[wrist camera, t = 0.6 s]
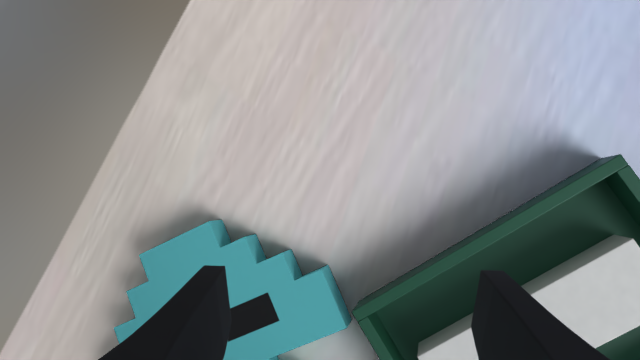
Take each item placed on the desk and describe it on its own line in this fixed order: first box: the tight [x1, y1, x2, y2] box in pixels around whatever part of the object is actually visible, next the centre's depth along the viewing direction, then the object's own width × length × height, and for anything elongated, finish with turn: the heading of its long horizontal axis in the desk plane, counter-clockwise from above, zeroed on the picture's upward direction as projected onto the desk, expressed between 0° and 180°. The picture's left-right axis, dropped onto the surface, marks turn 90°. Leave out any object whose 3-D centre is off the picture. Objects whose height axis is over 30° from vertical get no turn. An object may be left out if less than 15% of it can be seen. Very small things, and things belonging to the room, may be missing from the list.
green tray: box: [352, 154, 640, 360], centre depth 30 cm, size 14×20×3 cm
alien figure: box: [114, 220, 352, 360], centre depth 36 cm, size 20×2×20 cm
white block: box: [417, 235, 640, 360], centre depth 30 cm, size 4×15×3 cm, turn 122°
